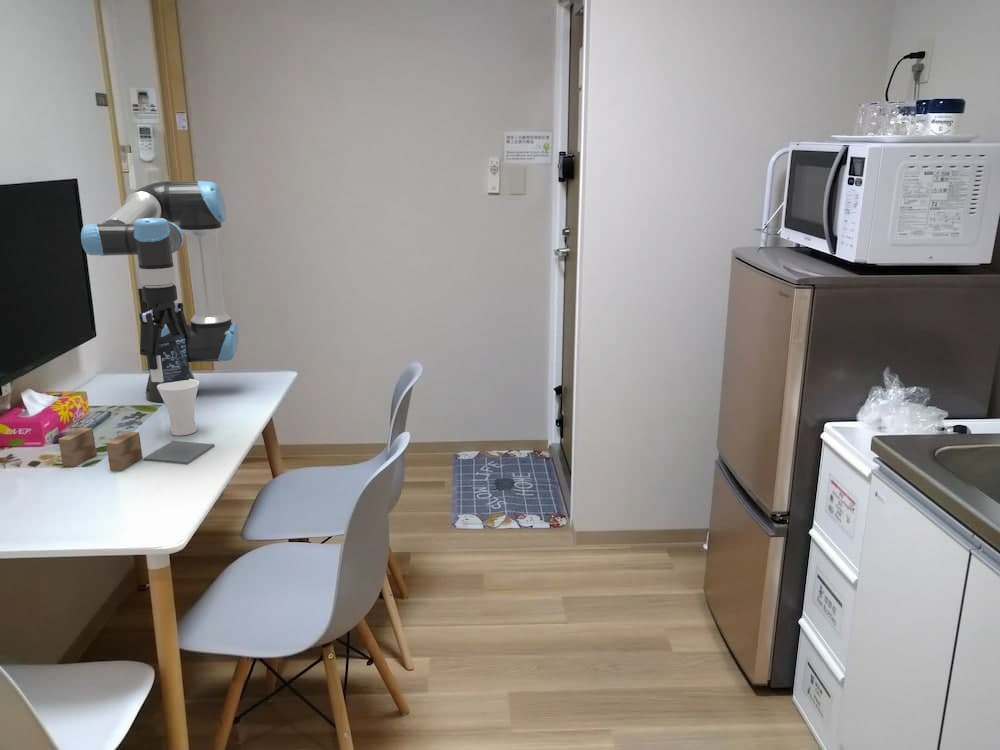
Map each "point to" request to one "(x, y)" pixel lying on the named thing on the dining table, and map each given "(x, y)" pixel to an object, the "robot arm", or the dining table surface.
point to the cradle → (83, 447)
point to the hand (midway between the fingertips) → (170, 375)
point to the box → (173, 359)
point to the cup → (180, 404)
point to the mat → (179, 452)
